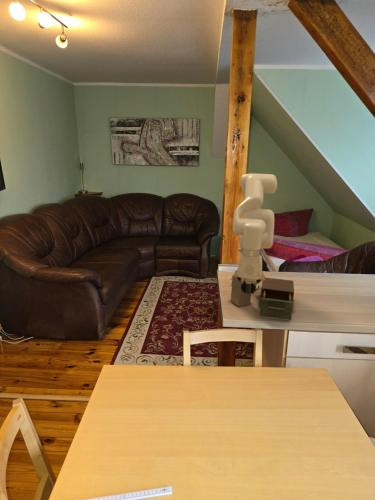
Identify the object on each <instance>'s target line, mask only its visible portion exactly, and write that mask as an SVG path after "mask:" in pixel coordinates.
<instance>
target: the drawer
mask: <svg viewBox="0 0 375 500" xmlns="http://www.w3.org/2000/svg"><path fill="white" fill-rule="evenodd" d="M293 307H294V301H293V302H292V301H291V293H286V292H277V291H269V290H264V294H263V298H261V306H260V305H259V317H265V318H273V319H279V320H286V321H292V317H293Z"/></svg>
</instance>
